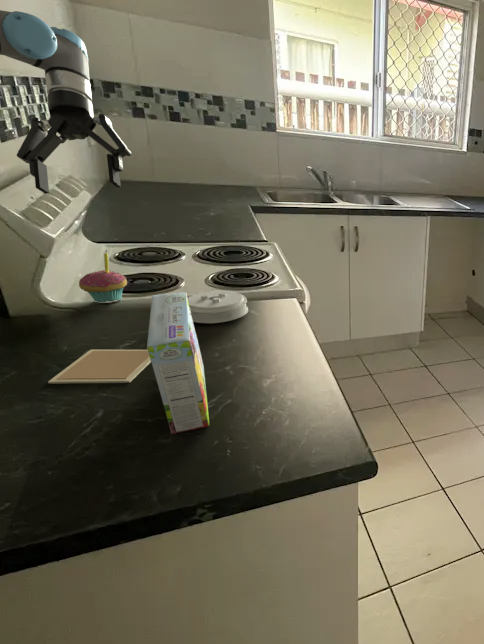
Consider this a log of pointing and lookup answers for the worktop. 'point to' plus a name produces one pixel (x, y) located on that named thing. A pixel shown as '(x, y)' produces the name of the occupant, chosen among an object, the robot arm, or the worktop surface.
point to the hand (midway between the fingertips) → (79, 187)
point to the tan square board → (105, 367)
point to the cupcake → (104, 284)
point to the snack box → (177, 362)
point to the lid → (217, 306)
